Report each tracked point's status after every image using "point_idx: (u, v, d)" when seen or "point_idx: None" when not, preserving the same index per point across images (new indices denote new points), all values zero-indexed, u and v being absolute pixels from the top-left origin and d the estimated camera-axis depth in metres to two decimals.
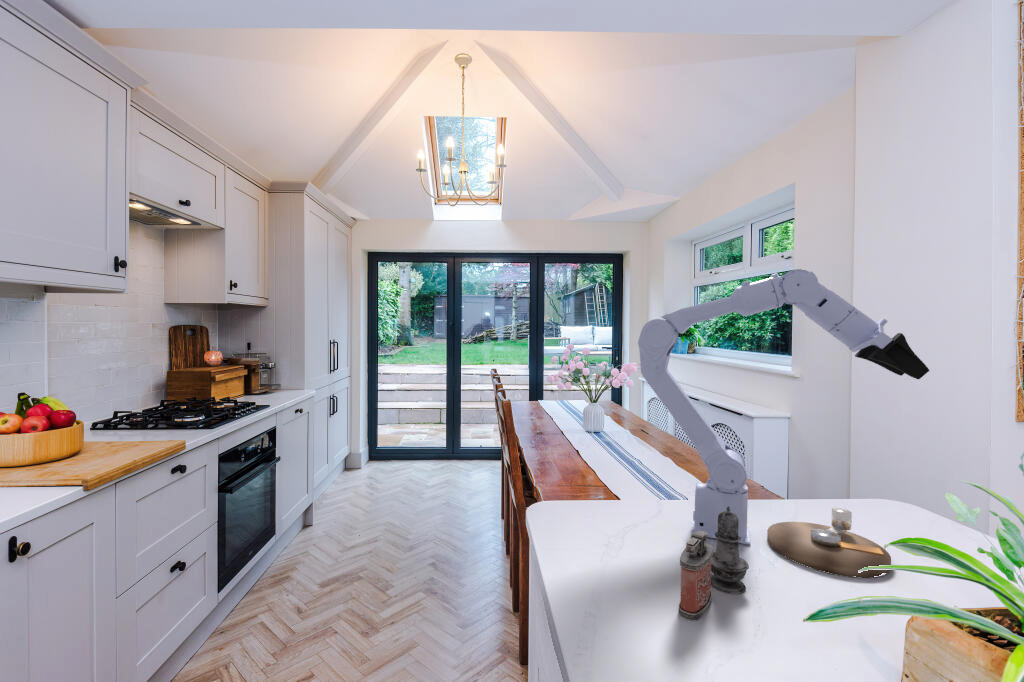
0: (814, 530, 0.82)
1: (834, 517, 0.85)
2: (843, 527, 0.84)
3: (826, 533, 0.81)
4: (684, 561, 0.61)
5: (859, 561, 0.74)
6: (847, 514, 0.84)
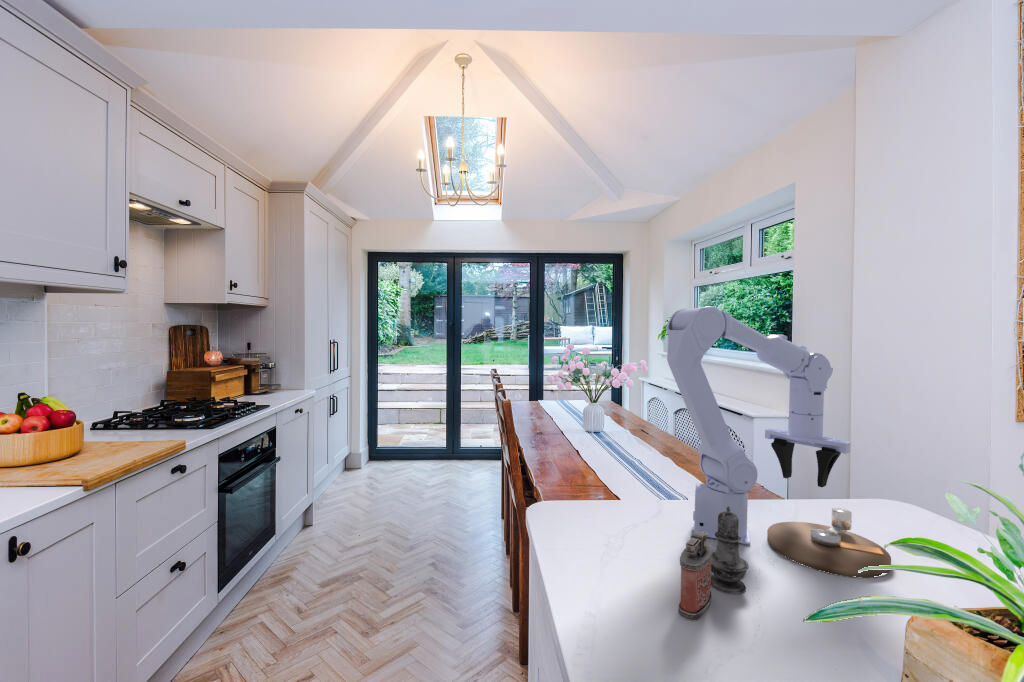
0: (814, 530, 0.82)
1: (834, 517, 0.85)
2: (843, 527, 0.84)
3: (826, 533, 0.81)
4: (684, 561, 0.61)
5: (859, 561, 0.74)
6: (847, 514, 0.84)
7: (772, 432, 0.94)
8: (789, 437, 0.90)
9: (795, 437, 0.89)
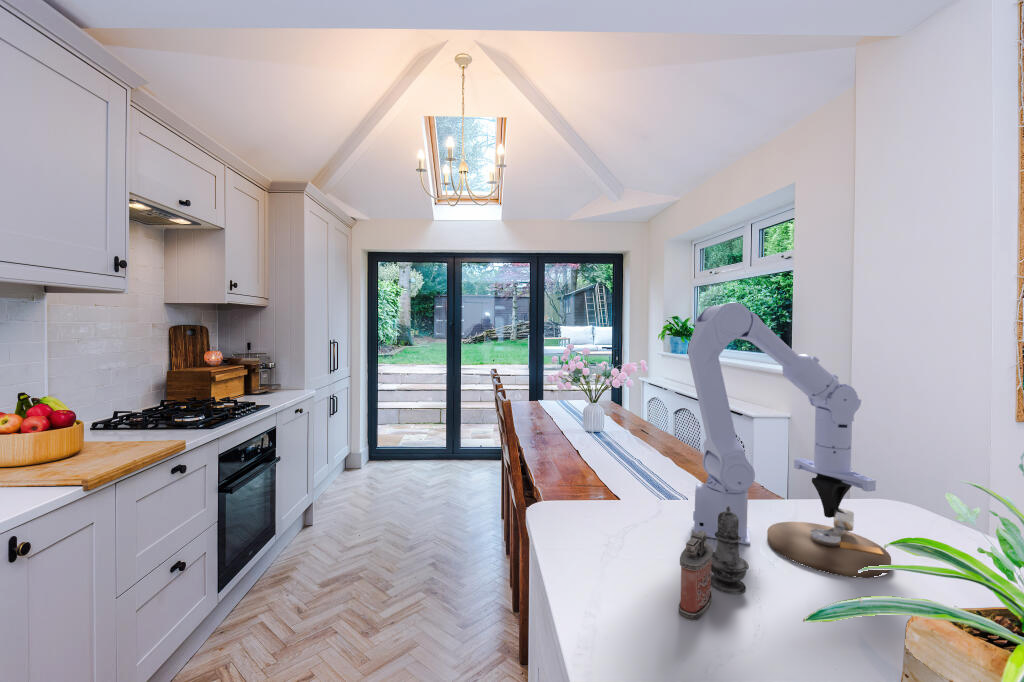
0: (814, 530, 0.82)
1: (836, 518, 0.84)
2: (845, 528, 0.83)
3: (826, 533, 0.81)
4: (684, 561, 0.61)
5: (859, 561, 0.74)
6: (849, 515, 0.83)
7: (800, 462, 0.92)
8: (812, 469, 0.87)
9: (817, 469, 0.86)
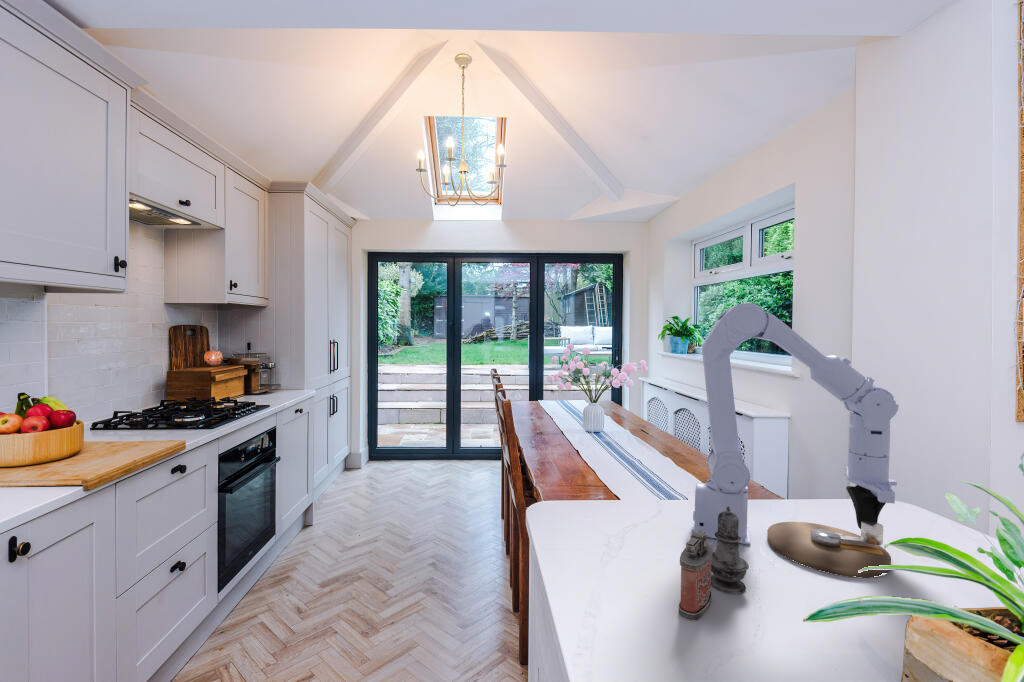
0: (822, 530, 0.83)
1: None
2: (865, 539, 0.79)
3: (828, 534, 0.81)
4: (684, 561, 0.61)
5: (859, 561, 0.74)
6: (870, 527, 0.78)
7: (847, 470, 0.87)
8: (846, 476, 0.83)
9: (846, 476, 0.82)
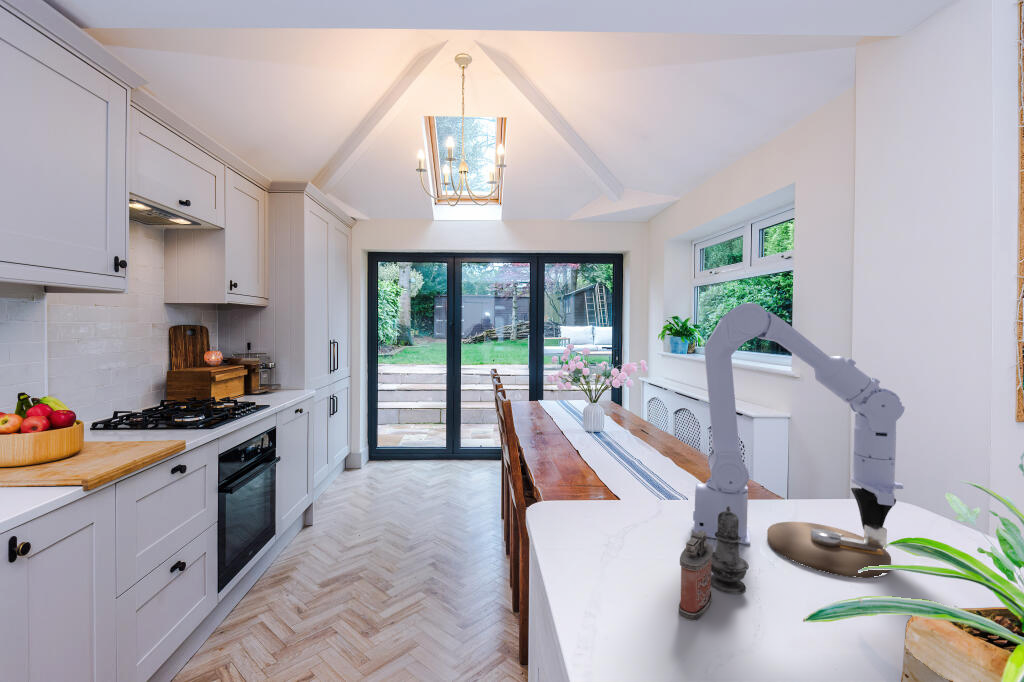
0: (824, 530, 0.82)
1: None
2: (866, 542, 0.78)
3: (828, 534, 0.81)
4: (684, 561, 0.61)
5: (859, 561, 0.74)
6: (871, 529, 0.77)
7: None
8: None
9: None
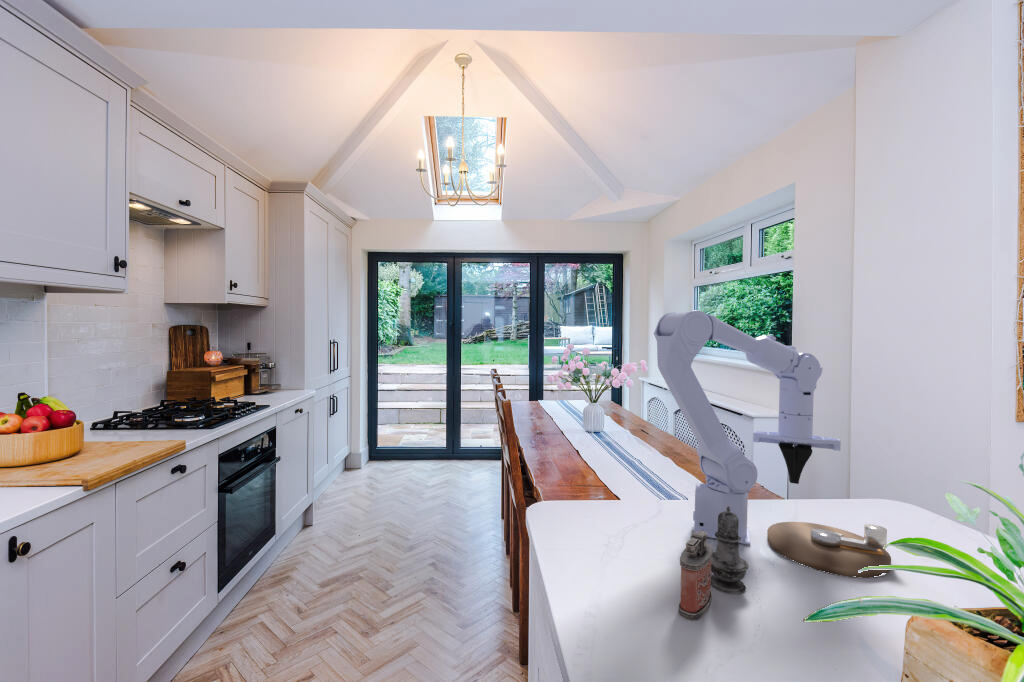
0: (824, 530, 0.82)
1: None
2: (866, 542, 0.78)
3: (828, 534, 0.81)
4: (684, 561, 0.61)
5: (859, 561, 0.74)
6: (871, 530, 0.77)
7: (762, 435, 0.91)
8: (786, 439, 0.88)
9: (794, 439, 0.87)
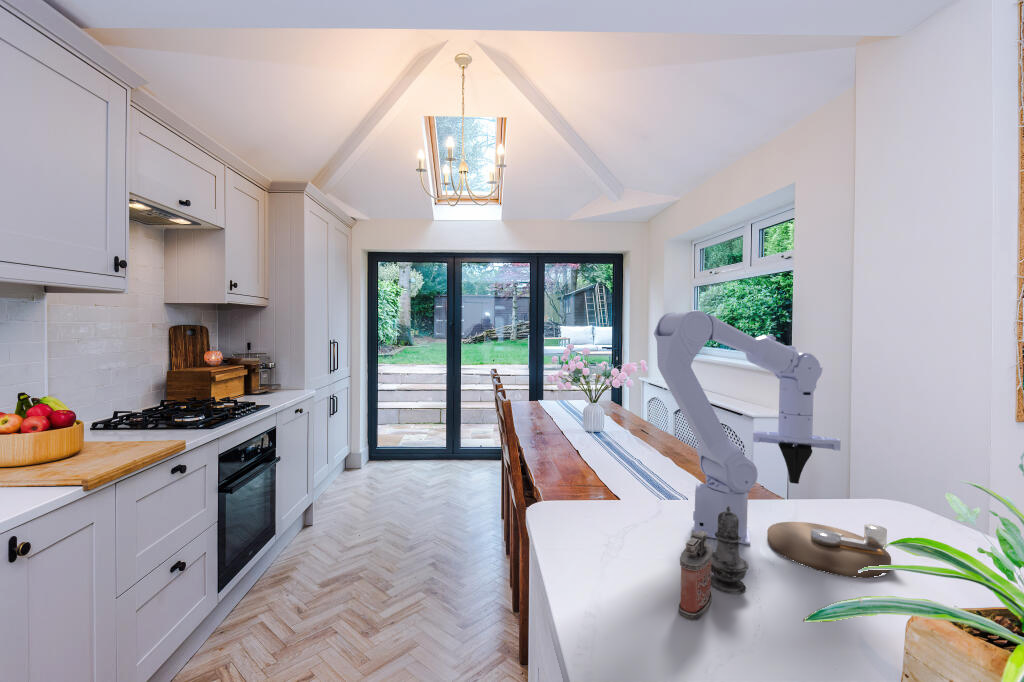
0: (824, 530, 0.82)
1: None
2: (866, 542, 0.78)
3: (828, 534, 0.81)
4: (684, 561, 0.61)
5: (859, 561, 0.74)
6: (871, 530, 0.77)
7: (762, 435, 0.91)
8: (786, 439, 0.88)
9: (794, 439, 0.87)
